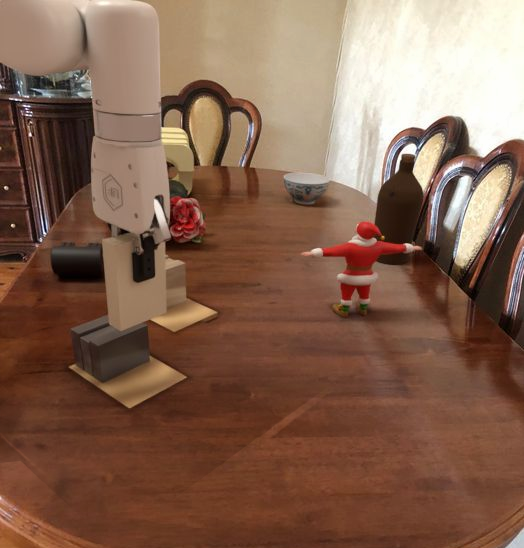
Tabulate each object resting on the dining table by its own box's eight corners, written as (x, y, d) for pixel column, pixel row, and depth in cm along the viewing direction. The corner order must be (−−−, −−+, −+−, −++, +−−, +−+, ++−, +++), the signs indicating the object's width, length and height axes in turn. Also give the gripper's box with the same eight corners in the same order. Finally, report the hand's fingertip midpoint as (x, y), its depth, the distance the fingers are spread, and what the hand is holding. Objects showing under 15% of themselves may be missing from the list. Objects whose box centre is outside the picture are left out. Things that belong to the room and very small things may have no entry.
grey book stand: (69, 372, 82) (62, 330, 78) (126, 346, 89) (123, 307, 85) (129, 413, 74) (125, 369, 70) (187, 382, 81) (186, 340, 77)
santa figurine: (400, 302, 111) (418, 214, 101) (414, 314, 106) (435, 224, 96) (288, 311, 104) (297, 219, 94) (298, 325, 99) (308, 229, 90)
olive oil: (411, 268, 128) (435, 161, 115) (368, 263, 129) (386, 157, 116) (408, 253, 137) (429, 152, 124) (367, 248, 138) (384, 148, 125)
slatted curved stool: (194, 205, 163) (193, 145, 154) (141, 205, 160) (137, 143, 151) (188, 181, 188) (188, 128, 179) (143, 180, 185) (140, 126, 176)
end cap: (53, 282, 110) (48, 251, 106) (61, 268, 116) (57, 239, 112) (102, 282, 111) (99, 252, 107) (108, 269, 117) (105, 240, 113)
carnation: (169, 235, 160) (185, 274, 131) (118, 196, 151) (123, 228, 122) (201, 195, 157) (225, 226, 128) (152, 152, 148) (165, 175, 119)
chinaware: (297, 210, 165) (300, 185, 161) (273, 197, 176) (274, 174, 172) (336, 205, 172) (339, 181, 168) (310, 194, 183) (312, 171, 179)
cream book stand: (121, 309, 101) (117, 265, 96) (165, 292, 108) (163, 250, 104) (174, 336, 93) (172, 290, 88) (217, 316, 100) (218, 273, 96)
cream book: (108, 324, 71) (101, 239, 65) (154, 306, 77) (152, 226, 70) (120, 331, 70) (114, 245, 64) (166, 313, 75) (165, 231, 69)
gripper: (59, 118, 62) (76, 264, 72) (148, 142, 54) (154, 304, 63) (112, 115, 67) (121, 252, 77) (201, 137, 59) (199, 287, 68)
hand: (136, 274), depth 70 cm, fingers closed on cream book, 2 cm apart
